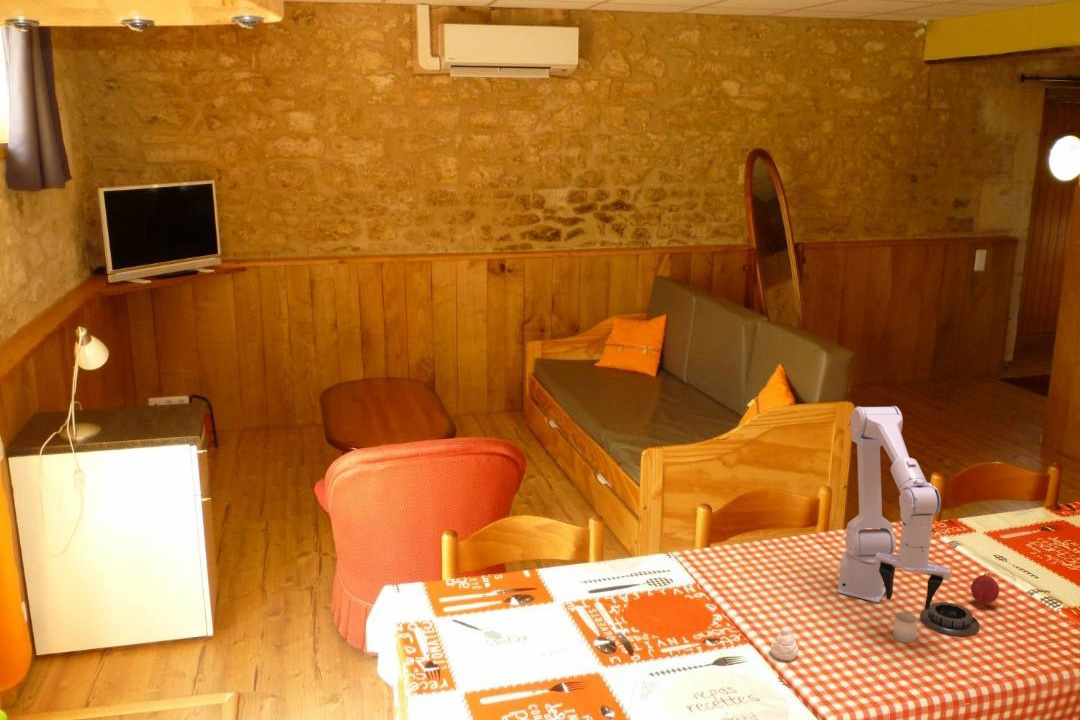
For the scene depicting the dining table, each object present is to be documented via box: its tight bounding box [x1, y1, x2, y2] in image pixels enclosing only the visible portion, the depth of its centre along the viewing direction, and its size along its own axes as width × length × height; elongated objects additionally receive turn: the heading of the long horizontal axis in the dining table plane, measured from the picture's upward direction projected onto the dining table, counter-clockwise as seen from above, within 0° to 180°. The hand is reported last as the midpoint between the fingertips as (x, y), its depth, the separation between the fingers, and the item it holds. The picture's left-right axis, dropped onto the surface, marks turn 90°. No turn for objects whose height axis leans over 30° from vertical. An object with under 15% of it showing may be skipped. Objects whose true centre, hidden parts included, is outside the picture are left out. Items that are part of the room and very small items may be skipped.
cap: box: [892, 612, 919, 644], centre depth 202 cm, size 5×5×5 cm
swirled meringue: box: [770, 627, 799, 662], centre depth 194 cm, size 6×6×5 cm
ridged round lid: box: [919, 601, 981, 638], centre depth 209 cm, size 12×12×3 cm
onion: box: [970, 570, 1000, 606], centre depth 216 cm, size 6×6×8 cm
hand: (908, 602), depth 201 cm, fingers open, 7 cm apart
